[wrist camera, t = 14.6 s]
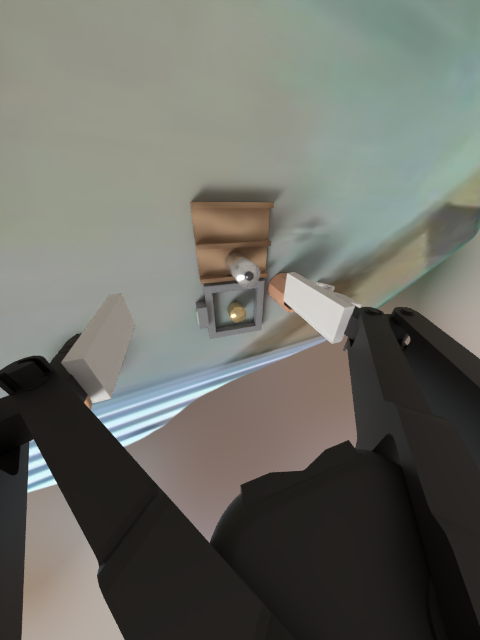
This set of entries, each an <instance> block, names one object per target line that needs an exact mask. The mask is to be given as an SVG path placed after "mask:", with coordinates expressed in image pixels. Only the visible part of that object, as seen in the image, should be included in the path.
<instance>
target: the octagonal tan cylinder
mask: <svg viewBox="0 0 480 640" xmlns="http://www.w3.org/2000/svg"><path fill="white" fill-rule="evenodd" d="M286 278H287V273H280V274H277V275H275V276H274V277H273V278H272V279H271V281H270V283H269V285H268V292H269V295H270V296H271V297H272V298H273V299H275V300H276V301H277V302H278V303H279V304H280V305H281V306H282V307H283V308H284V309H285V310H286V311H287V312H295V311H294V310H293V309H292V308H291V307H290V306H289V305H288V304H286V303H285V302H284V301H283V300H284V293H285V285H286Z"/></svg>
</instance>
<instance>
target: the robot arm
mask: <svg viewBox="0 0 480 640" xmlns="http://www.w3.org/2000/svg"><path fill="white" fill-rule="evenodd" d="M283 301H284V302H285V303H286V304H288V305H289V306H290V307H291V308H292V309H293V310H294V311H295V312H297V313H298V314H299V315H300V316H301V317H302V318H303V319H305V320H306V321H307V322H308V323H309V324H310V325H311V326H312V327H314V328H315V329H316V330H317V331H318V332H319V333H320V334H322V335H323V336H324V337H325V338H326V339H327V340H328V341H330V342H331V343H332V344H333V343H337V342H341V341H342V339H343V336H344V334H345V335H346V336H348V339H347V342H346V344H345V347H344V349H343V350H344V351H345V350H346V349H347V350H348V358H349V367H350V375H351V385H352V394H353V402H354V411H355V419H356V428H357V443H356V447H355V448H354V447H353V446H352V444H351V443H350V441H349V440H348V441H345V442H343V443H340V444H338V445H336V446H333V447H331V448H329V449H326V450H325V451H324V452H323V453H322V454H321V455H320V456H318V458H316V459H315V461H313V462H312V463H311V464H310V465H309V466H308V467H307V468H306V469H305V470H303V471H291V472H273V473H268V474H266V475H263V476H261V477H259V478H256V479H254V480H251V481H249V482H247V483H244V484H242V485H241V494H240V495H238V496H237V497H236V498H235V499H234V500H233V502H232V503H231V504H230V505H229V506H228V508H227V509H226V510H225V512H224V513H223V515H222V517H221V518H220V520H219V522H218V524H217V526H216V529H215V531H214V533H213V535H212V538H211V541H210V543H209V542H208V541H207V540H206V539H205V538H204V536H203V535H202V534H201V533H200V532H199V531H198V530H197V529H196V527H195V526H194V525H193V524H192V523H191V522H190V521H189V520H188V519H187V517H186V516H185V515H184V514H183V513H182V512H181V511H180V510H179V508H178V507H177V506H176V505H175V504H174V503H173V502H172V501H171V499H169V497H168V496H167V495H166V494H165V493H164V492H163V491H162V490H161V489H160V488H159V487H158V485H157V484H156V483H155V482H154V481H153V480H152V479H151V478H150V477H149V475H148V474H147V473H146V472H145V471H144V470H143V469H142V468H141V467H140V465H139V464H138V463H137V462H136V461H135V460H134V459H133V457H132V456H131V455H130V454H129V453H128V452H127V451H126V449H125V448H124V447H123V446H122V445H121V444H120V443H119V442H118V440H117V439H116V438H115V437H114V436H113V435H112V434H111V433H110V431H109V430H108V429H107V428H106V427H105V426H104V425H103V424H102V422H101V421H100V420H99V419H98V418H97V417H96V416H95V415H94V413H93V412H92V411H91V410H90V409H89V408H88V407H87V406H86V404H85V403H84V402H85V400H86V398H87V396H88V397H89V398H90V399H91V401H92V402H93V403H95V402H99V401H103V400H107V399H111V397H112V394H113V391H114V388H115V385H116V382H117V379H118V376H119V373H120V370H121V367H122V364H123V361H124V358H125V354H126V351H127V348H128V345H129V342H130V339H131V336H132V333H133V330H134V327H135V324H134V322H133V319H132V317H131V314H130V312H129V309H128V307H127V305H126V302H125V300H124V297H123V295H122V293H121V294H113V295H109V296H108V298H107V299H106V301H105V302H104V303H103V305H102V306H101V308H100V309H99V310H98V312H97V313H96V315H95V316H94V317H93V319H92V320H91V321H90V323H89V324H88V326H87V327H86V328H85V330H84V331H83V333H81V334H76V335H75V336H73V337H72V338H70V339H69V340H68V341H67V342H66V343H65V344H64V346H63V347H62V349H61V350H60V351H59V352H58V354H57V355H56V356H55V357H54V358H53V360H52V361H51V362H50V364H49V363H48V361H47V360H46V359H45V358H44V357H42V356H31V357H27V358H23V359H21V360H18V361H15V362H14V363H12V364H10V365H8V366H6V367H5V368H3V369H2V370H0V387H1V388H2V389H3V390H4V391H6V392H7V393H8V394H9V395H8V396H6V397H3V398H0V640H21V634H22V609H23V584H24V557H25V534H26V533H25V531H26V509H27V485H28V460H29V441H31V440H33V439H34V441H35V442H36V444H37V446H38V448H39V450H40V452H41V454H42V456H43V458H44V459H45V461H46V463H47V465H48V467H49V469H50V471H51V473H52V475H53V476H54V478H55V480H56V482H57V484H58V486H59V488H60V490H61V492H62V493H63V495H64V497H65V499H66V501H67V503H68V505H69V507H70V508H71V510H72V512H73V514H74V516H75V518H76V520H77V522H78V524H79V525H80V527H81V529H82V531H83V533H84V535H85V537H86V539H87V541H88V542H89V544H90V546H91V548H92V550H93V552H94V554H95V556H96V558H97V560H98V563H99V570H98V574H97V578H98V583H99V587H100V589H101V592H102V594H103V597H104V599H105V601H106V603H107V605H108V607H109V609H110V611H111V613H112V615H113V617H114V619H115V621H116V623H117V625H118V627H119V629H120V631H121V633H122V635H123V637H124V639H125V640H480V359H479V358H478V357H476V356H475V355H474V354H473V353H471V352H470V351H469V350H467V349H466V348H465V347H463V346H462V345H461V344H459V343H458V342H457V341H455V340H454V339H453V338H451V337H450V336H449V335H447V334H446V333H445V332H443V331H442V330H441V329H440V328H438V327H437V326H436V325H434V324H433V323H432V322H430V321H429V320H428V319H427V318H425V317H424V316H423V315H421V314H420V313H418V312H417V311H415V310H412V309H411V308H407V307H396V308H394V310H393V312H392V314H384V313H383V312H382V311H380V310H378V309H375V308H371V307H362V308H359V307H357V306H355V305H353V304H352V303H350V302H348V301H346V300H344V299H343V298H341V297H339V296H337V295H335V294H333V293H331V292H330V291H328V290H326V289H324V288H322V287H321V286H319V285H317V284H315V283H313V282H312V281H310V280H308V279H306V278H305V277H303V276H301V275H299V274H297V273H296V272H291V273H287V278H286V285H285V293H284V300H283ZM408 336H410V339H411V340H410V343H409V344H408V345H406V344H405V343H404V342H405V341H406V339H407V338H408Z"/></svg>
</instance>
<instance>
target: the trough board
mask: <svg viewBox="0 0 480 640" xmlns="http://www.w3.org/2000/svg"><path fill="white" fill-rule="evenodd" d="M190 204H191V212H192V220H193V228H194V236H195V244H196V251H197V259H198V267H199V275H200V281H201V284H203V283H213V282H223V281H233V280H236V279H235V278H234V277H233V276H232V274H231V273H230V272H229V271H228V269H227V268H226V266H225V258H226V256H227V255H228V254H229V253H230V252H234V251H236V252H239V253H241V254H242V255H243V256H245V257H246V258H247V259H249V260H250V261H252V262H253V263H254V264H256V265H257V266H258V267H259V269H260V278H263V277H268V273H267V272H266V258H267V246H271V241H269V240H268V230H269V215H270V208H274V202H190Z"/></svg>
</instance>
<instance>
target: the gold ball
mask: <svg viewBox="0 0 480 640" xmlns="http://www.w3.org/2000/svg"><path fill="white" fill-rule="evenodd" d="M227 311H228V313H229V316H230V318H231V320H232V321H234V322H241V321H243V320H244V319H245V317H246V311H245V309H244V308H243V306H242V305H241V304H240V303H239V302H233V303H231V304H230V305H229V306H228V309H227Z"/></svg>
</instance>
